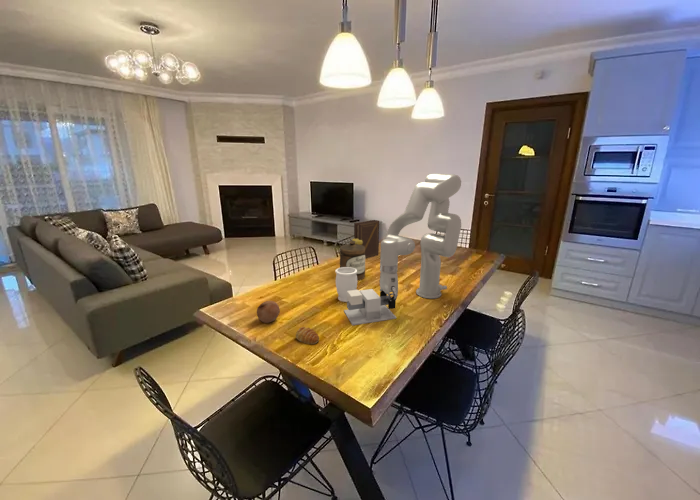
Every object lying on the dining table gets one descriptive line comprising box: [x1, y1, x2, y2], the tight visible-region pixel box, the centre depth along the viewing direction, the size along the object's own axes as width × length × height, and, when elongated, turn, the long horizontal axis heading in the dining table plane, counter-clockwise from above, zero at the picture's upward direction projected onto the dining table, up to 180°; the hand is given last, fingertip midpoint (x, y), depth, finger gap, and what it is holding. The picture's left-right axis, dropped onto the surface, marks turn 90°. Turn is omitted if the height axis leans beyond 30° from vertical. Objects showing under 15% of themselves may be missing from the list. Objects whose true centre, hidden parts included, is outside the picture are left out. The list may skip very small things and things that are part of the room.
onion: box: [256, 300, 281, 324], centre depth 130 cm, size 10×9×10 cm
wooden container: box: [339, 239, 366, 282], centre depth 178 cm, size 15×15×22 cm
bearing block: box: [343, 288, 397, 326], centre depth 134 cm, size 20×13×10 cm, turn 107°
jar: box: [335, 267, 358, 303], centre depth 150 cm, size 11×10×15 cm
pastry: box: [295, 326, 320, 345], centre depth 117 cm, size 9×7×4 cm
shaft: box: [346, 295, 389, 310], centre depth 134 cm, size 20×3×3 cm, turn 107°
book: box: [351, 219, 380, 260], centre depth 214 cm, size 22×8×25 cm, turn 130°
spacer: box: [347, 289, 363, 305], centre depth 131 cm, size 5×6×4 cm
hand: (387, 303), depth 137 cm, fingers open, 8 cm apart
